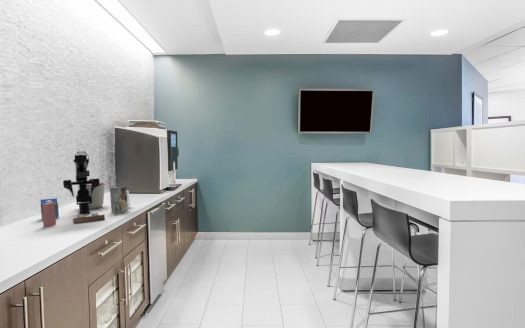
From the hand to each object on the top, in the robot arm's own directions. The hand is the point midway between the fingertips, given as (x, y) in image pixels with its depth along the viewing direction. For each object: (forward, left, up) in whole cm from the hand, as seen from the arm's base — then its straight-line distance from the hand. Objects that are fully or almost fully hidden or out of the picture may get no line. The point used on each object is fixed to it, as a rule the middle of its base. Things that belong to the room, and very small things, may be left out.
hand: (82, 196), depth 194 cm
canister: (-49, +10, -15) cm, 52 cm away
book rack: (-2, +3, -15) cm, 15 cm away
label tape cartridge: (-25, -16, -15) cm, 33 cm away
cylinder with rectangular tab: (-34, +28, -15) cm, 46 cm away
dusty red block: (-1, -17, -15) cm, 22 cm away
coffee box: (-19, +23, -15) cm, 33 cm away
